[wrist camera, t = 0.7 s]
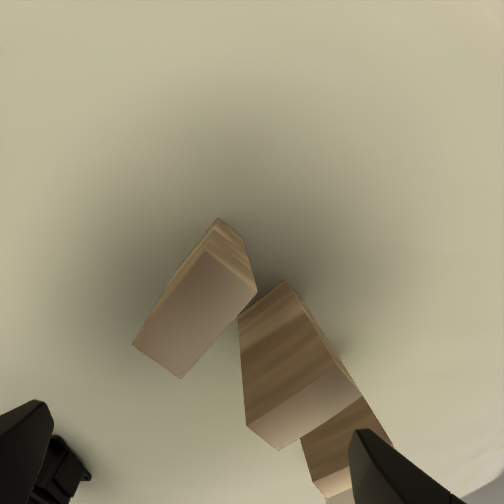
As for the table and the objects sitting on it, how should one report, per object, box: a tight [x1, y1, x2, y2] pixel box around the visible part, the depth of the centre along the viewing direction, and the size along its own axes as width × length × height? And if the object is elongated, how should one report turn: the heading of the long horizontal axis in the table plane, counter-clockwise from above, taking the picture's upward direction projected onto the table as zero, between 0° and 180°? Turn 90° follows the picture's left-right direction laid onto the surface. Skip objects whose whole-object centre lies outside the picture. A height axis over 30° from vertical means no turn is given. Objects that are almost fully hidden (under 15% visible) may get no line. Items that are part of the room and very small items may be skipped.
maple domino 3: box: [300, 396, 394, 499], centre depth 17 cm, size 2×4×11 cm, turn 118°
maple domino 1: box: [132, 218, 258, 379], centre depth 15 cm, size 2×4×11 cm, turn 140°
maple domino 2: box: [238, 280, 363, 451], centre depth 16 cm, size 2×4×11 cm, turn 129°
